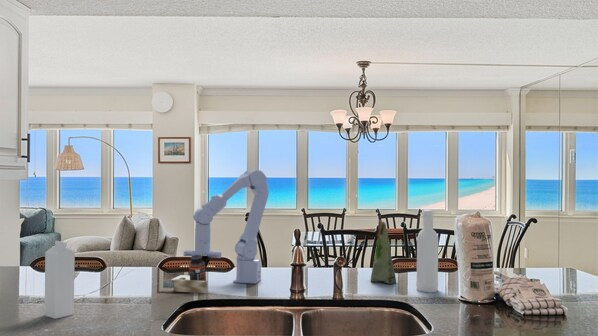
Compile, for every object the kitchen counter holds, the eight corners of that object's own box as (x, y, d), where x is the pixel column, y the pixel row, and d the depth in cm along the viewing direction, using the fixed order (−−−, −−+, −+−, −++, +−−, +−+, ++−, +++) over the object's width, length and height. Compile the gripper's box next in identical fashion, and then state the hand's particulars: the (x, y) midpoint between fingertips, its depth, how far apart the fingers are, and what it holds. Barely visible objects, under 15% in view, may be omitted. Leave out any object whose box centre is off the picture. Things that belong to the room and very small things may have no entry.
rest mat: (201, 277, 211) (201, 276, 211) (192, 281, 203) (192, 280, 203) (180, 275, 213) (180, 275, 213) (171, 280, 204) (171, 279, 204)
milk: (63, 311, 159) (64, 239, 159) (74, 314, 156) (75, 241, 156) (43, 315, 154) (45, 241, 155) (54, 319, 151) (55, 243, 151)
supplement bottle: (203, 289, 191) (200, 260, 188) (187, 288, 192) (185, 259, 189) (208, 282, 196) (206, 254, 194) (194, 281, 198) (191, 253, 195)
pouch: (384, 286, 200) (385, 221, 200) (361, 281, 209) (362, 219, 209) (402, 282, 207) (403, 220, 207) (379, 277, 216) (380, 217, 216)
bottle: (439, 289, 197) (440, 210, 197) (435, 293, 190) (437, 211, 190) (418, 286, 200) (419, 209, 200) (414, 291, 193) (415, 210, 193)
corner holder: (209, 290, 189) (210, 279, 189) (205, 293, 185) (205, 281, 185) (179, 288, 191) (179, 277, 191) (173, 291, 187) (173, 280, 187)
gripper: (180, 240, 195) (179, 276, 195) (217, 242, 192) (216, 279, 192) (188, 238, 202) (187, 273, 202) (223, 239, 199) (222, 275, 199)
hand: (202, 275), depth 198 cm, fingers closed, pressing on supplement bottle
